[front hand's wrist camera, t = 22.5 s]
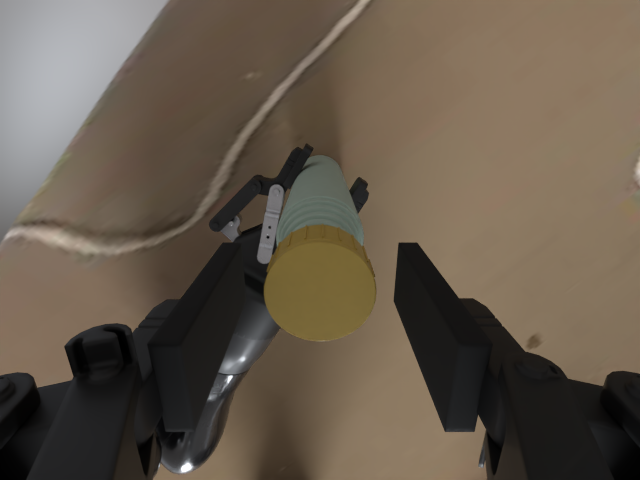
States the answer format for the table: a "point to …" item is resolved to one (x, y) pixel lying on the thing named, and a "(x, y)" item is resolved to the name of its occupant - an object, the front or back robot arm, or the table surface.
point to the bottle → (320, 200)
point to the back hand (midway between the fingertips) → (336, 164)
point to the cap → (320, 283)
